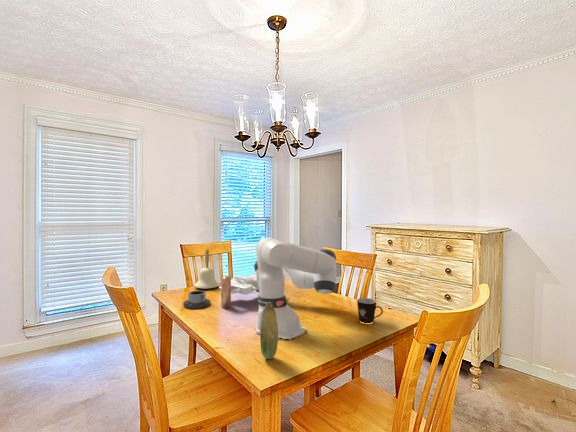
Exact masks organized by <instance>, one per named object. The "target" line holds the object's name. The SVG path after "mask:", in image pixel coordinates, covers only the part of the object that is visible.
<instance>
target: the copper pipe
mask: <svg viewBox="0 0 576 432" xmlns="http://www.w3.org/2000/svg"><path fill="white" fill-rule="evenodd" d="M231 279H232V277H231V276H230V275H223V276H221V278H220V280H221V281H220V283H221V290H220V295H221V296H220V297H221V298H220V308H221V309H222V310H224V309H225V310H226V309H231V307H232V293H231Z"/></svg>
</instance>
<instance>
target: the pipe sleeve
mask: <svg viewBox="0 0 576 432" xmlns="http://www.w3.org/2000/svg"><path fill="white" fill-rule="evenodd" d="M206 294H207V293H206V291H205V290H192V291H190V292H188V293H187V295H188V297H187V298H188V299H186V300H185V301H183V302H182V307H183V308H185V309H189V310H199V309H205V308H208V307H210V306H211V300H210V299H208V298H207V297H206Z"/></svg>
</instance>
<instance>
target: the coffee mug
mask: <svg viewBox="0 0 576 432" xmlns="http://www.w3.org/2000/svg"><path fill="white" fill-rule="evenodd" d="M356 301H357V312H358V321H359V320H360V321H361V322H364V323H371V322H373V321H375V319H376V318H378V317H380V316H381V315H383V314H384V311H383V308H382V307H381V306H379V305H378V306H377V300H376V299H374V298H368V297H360V298H357V300H356ZM377 308H378V309H379V310H380V311H381V312H380V314H378V315H376V309H377ZM373 323H374V322H373Z"/></svg>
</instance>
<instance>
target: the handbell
mask: <svg viewBox="0 0 576 432" xmlns="http://www.w3.org/2000/svg"><path fill="white" fill-rule="evenodd" d="M204 252H205V253H204V263H205V267H203V268H201V269H200V271H199V279H198V281H197V282H196V283H195V284H194V287H195V288H197V289H214V288H217V287H219V285H220V284H219V282H218V281H217V280H216V278H215V271H214V268H213V267H210V266H209V264H210V263H209V262H210V253H209V248H207V249H206V250H205V251H204Z"/></svg>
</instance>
